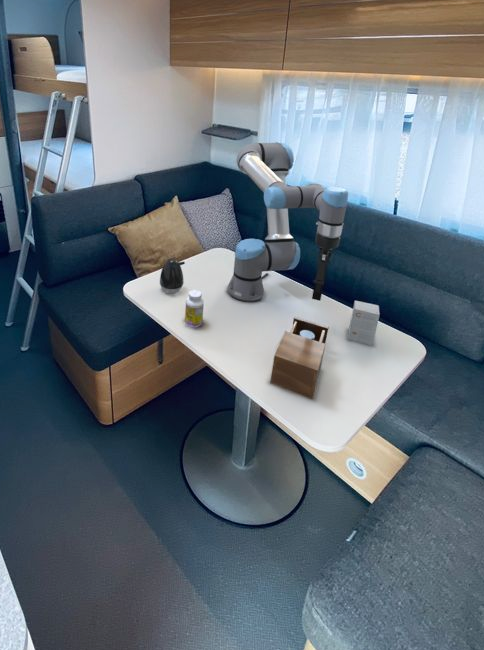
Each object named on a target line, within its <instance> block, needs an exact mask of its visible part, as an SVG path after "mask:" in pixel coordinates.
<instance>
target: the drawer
mask: <svg viewBox="0 0 484 650" xmlns="http://www.w3.org/2000/svg"><path fill="white" fill-rule="evenodd" d="M302 330H308V331H311V332H312V333H313V334H314V335H315V338H314V340H315V341H318V342H321V343H324V344H325V345H326V342H327V337H328V333H329V326H328V325H324V324H321V323H317V322H314V321H311V320H308V319H304V318H301V317H297V316H294V317H293V321H292V326H291V329H290V330H289V332H290V333H293V334H296V335H300V332H301V331H302Z"/></svg>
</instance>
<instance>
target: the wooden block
mask: <svg viewBox="0 0 484 650" xmlns="http://www.w3.org/2000/svg"><path fill="white" fill-rule="evenodd" d="M325 348H326V343H325V344H324V343H321V342H318V341H315V340H312V339H309V338H305V337H302V336H299V335H296V334H293V333H290V331H286V330H285V331H284V333H283V335H282V337H281V339H280V342H279V343H278V346H277V349H276V351H275V353H274V356H273V361H272V362H273V363H272V368H271V374H270V375H271V376H270V382H269V384H271V385H274V386H277V387H280V388H281V389H285V390H287V391H289V392H293V393H295V394H298V395H301V396H303V397H306V398H308V399H311V400H313V398H314V395H315V392H316V388H317V384H318V381H319V378H320V373H321V371H322V364H323V358H324V354H325V350H326V349H325Z"/></svg>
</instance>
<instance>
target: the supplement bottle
mask: <svg viewBox="0 0 484 650" xmlns="http://www.w3.org/2000/svg"><path fill="white" fill-rule="evenodd" d="M204 304H205V302H204V299H203V297H202V292H201V291H200V290H197V289H193V290H190V291H189V292H188V297H187V298H186V299H185V308H184V310H185V311H184V323H185V325H186V326H188V327H190V328H198V327H200V326H201V325H202V324H203V318H204Z"/></svg>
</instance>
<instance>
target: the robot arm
mask: <svg viewBox="0 0 484 650" xmlns="http://www.w3.org/2000/svg"><path fill="white" fill-rule="evenodd" d="M294 156H295V155H294V152H293V149H292V148H291V146H290V145H289V144H288V143H286V142H277V141H276V142H251V143H248V144H245V146H243V147H242V148H241V149H240V150H239V152H238V154H237V156H236V164H237V165H236V166H237V167H238V169H239V170H240V172H241V173H243V174H245V175H247V176H248V177H249V178H250V180H252V181H253V182H254V183H255V185H256V186H257V187H258V188H259V189H260V191H261V192H263V202H264V205H265V207H266V218H267V236H266V237H265V238H264V240H261V239H259V238H257V239H256V238H245V239H243V240H240V241H239V242H238V243H237V244H236V246H235V251H234V263H233V264H234V266H233V274H232V276H231V279H230V281H229V282H228V285H227V293H228V295H229V296H230V297H232V298H233V299H235V300H238V301H240V302H245V303H254V302H258V301H260V300H261V299H263V298H264V294H265V287H264V284H263V279H264V278H266V277H267V276H268V275H269V273H268V272H275V271H288V270H294V269H295V268H296V267H297V266H298V264H299V262H300V260H301V259H300V258H301V247H300V245H299V243H298V242H296V241H295V240H294V237H293V236H292V235H291V233H290V225H289V222H290V221H289V209H309V208H310V209H312V208H313V209H315V210H316V211H318V212H319V215H318V221H316V223H315V225H316V226H317V228H316V233H315V239H314V242H315V245H316V246H317V247H319V249H318V254H317V255H318V256H317V257H318V258H317V263H318V264H317V269H316V275H315V276H316V277H315V279H313V280H312V283H313V290H312V296H311V299H312V300H314V301H319V302H320V301H321V300H322V295H323V289H324V284H325V280H326V276H327V270H328V266H330V263H331V261H330V259H331V257H332V252H333V250H334V249H337V248H339V247H340V242H341V235H342V233H343V227H344V221H345V216H346V211H347V206H348V203H349V201H348V198H349V192H348V190H347V189H345V188H342V187H339V186H327V187H324V186H323V185H322V184H319V183H316V182H313V181H312V182H307V183H306V184H304V185H294V186H293V185H287V180H286V178H287V176H288V175H289V174H290V170H292V168H293V166H294V162H295V161H294V160H295V157H294ZM263 272H266V273H265V274H263ZM262 275H263V276H262Z"/></svg>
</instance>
